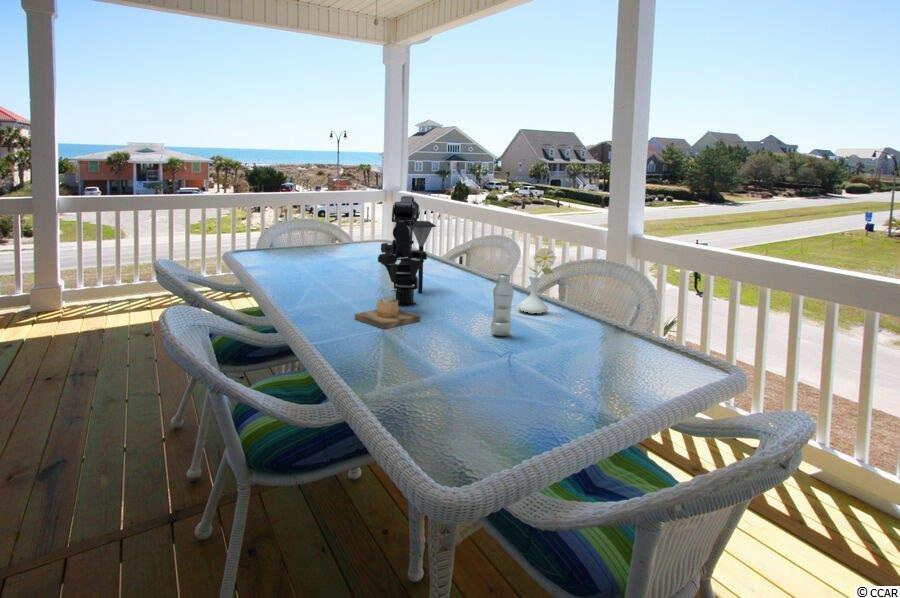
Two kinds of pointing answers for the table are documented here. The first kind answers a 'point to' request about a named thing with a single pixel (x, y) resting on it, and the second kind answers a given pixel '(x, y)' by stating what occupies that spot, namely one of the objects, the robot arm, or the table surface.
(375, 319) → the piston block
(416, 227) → the solar garden light
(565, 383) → the table surface
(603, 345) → the table surface
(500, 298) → the plastic bottle
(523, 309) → the flower in vase
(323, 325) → the table surface
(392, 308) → the brown octagonal cup
